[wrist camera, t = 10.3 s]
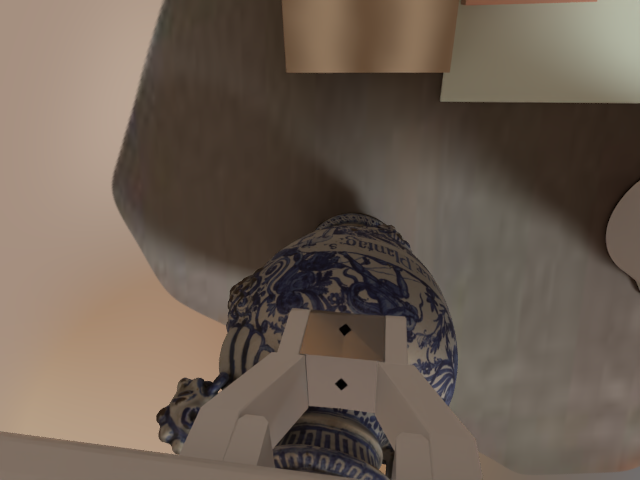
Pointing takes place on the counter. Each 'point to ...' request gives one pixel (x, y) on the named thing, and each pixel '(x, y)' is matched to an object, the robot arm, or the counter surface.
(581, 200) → the counter surface
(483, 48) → the mat
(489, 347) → the counter surface
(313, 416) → the decorative vase
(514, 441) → the counter surface
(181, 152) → the counter surface
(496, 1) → the tile
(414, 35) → the tan flat block
